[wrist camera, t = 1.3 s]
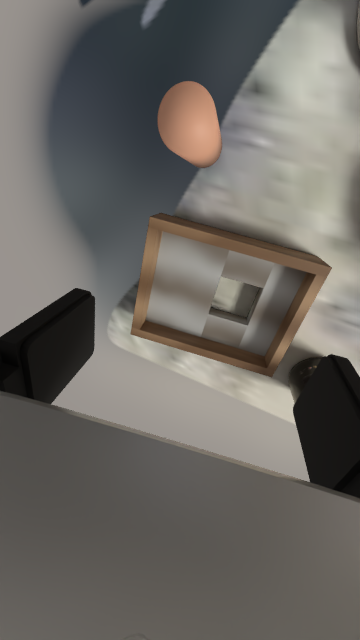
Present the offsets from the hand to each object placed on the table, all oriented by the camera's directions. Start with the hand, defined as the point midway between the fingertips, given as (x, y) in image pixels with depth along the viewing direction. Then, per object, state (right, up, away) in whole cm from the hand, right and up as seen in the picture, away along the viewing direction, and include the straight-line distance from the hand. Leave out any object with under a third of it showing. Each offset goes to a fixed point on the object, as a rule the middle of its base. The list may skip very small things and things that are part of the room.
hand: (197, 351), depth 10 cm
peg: (+2, +18, +15) cm, 24 cm away
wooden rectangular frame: (+4, +5, +21) cm, 22 cm away
